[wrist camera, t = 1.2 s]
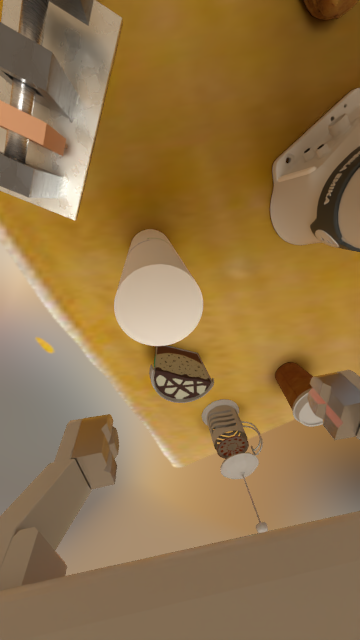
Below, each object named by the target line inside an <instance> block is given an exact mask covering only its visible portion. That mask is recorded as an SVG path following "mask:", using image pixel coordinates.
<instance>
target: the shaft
mask: <svg viewBox="0 0 360 640" xmlns="http://www.w3.org/2000/svg"><path fill="white" fill-rule="evenodd" d="M49 1H50V2H51V3H53V4H54V5H56V6H58V7H59V8H61V9H62V10H64V11H65V12H67V13H69V14H70V15H72V16H73V17H75V18H77V19H78V20H80V21H81V22H83V23H85V24H86V25H88V26H89V21H90V16H91V11H92V6H93V1H94V0H22V3H21V12H20V21H19V29H18V33H20V34H22V35H24V36H25V37H27V38H29V39H31V40H32V41H34V42H36V43H38V44H39V45H41V46H42V45H43V39H44V32H45V25H46V18H47V11H48V4H49ZM35 93H36V89H35V88H34V87H32V86H30V85H28V84H26V83H24V82H22V81H20V80H19V79H17V78H15V77H13V82H12V90H11V99H10V105H11V106H13V107H15V108H17V109H19V110H21V111H23V112H25V113H27V114H29V115H31V116H32V114H33V107H34V100H35ZM28 141H29V139H28V138H25V137H23V136H21V135H19V134H17V133H15V132H13V131H10V130H8V129H7V134H6V142H5V151H4V155H5V156H7V157H10V158H12V159H14V160H17V161H19V162H21V163H23V164H25V162H26V155H27V148H28Z"/></svg>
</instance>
